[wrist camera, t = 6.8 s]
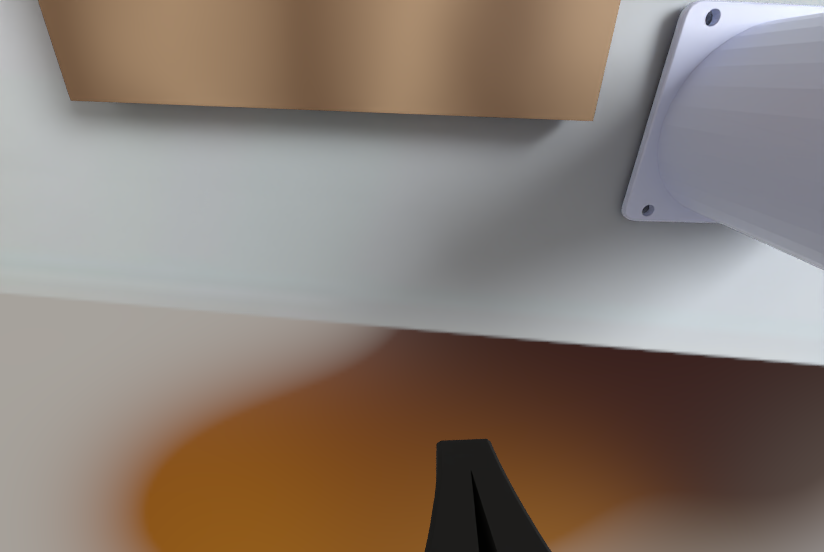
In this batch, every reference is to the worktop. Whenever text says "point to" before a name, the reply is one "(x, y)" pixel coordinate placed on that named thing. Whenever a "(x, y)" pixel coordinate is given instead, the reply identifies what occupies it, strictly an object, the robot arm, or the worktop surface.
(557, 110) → the tan flat block
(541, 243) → the worktop surface
